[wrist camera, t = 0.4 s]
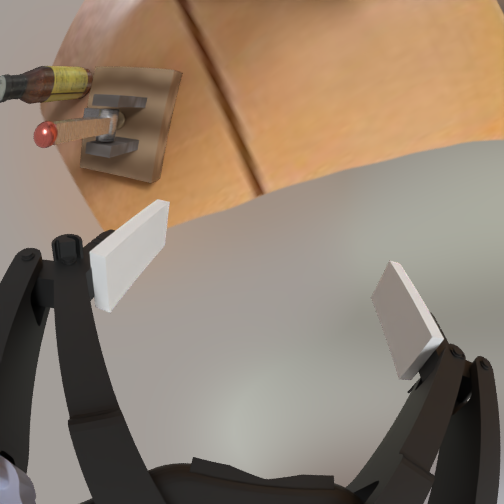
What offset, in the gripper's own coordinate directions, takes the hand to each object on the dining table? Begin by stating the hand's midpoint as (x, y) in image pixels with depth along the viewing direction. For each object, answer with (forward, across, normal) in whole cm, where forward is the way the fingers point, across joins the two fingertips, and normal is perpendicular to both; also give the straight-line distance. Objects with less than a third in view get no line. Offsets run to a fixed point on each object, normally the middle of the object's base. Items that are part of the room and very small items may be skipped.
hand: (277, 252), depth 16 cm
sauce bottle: (+29, -39, +9) cm, 50 cm away
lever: (+22, -26, +3) cm, 35 cm away
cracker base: (+29, -26, +3) cm, 39 cm away
